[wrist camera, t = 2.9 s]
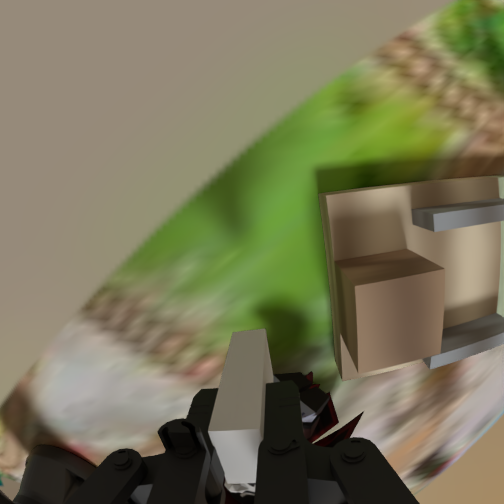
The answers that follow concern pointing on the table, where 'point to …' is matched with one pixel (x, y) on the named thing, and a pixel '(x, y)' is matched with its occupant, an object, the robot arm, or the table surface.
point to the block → (390, 308)
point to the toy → (314, 425)
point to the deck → (428, 253)
